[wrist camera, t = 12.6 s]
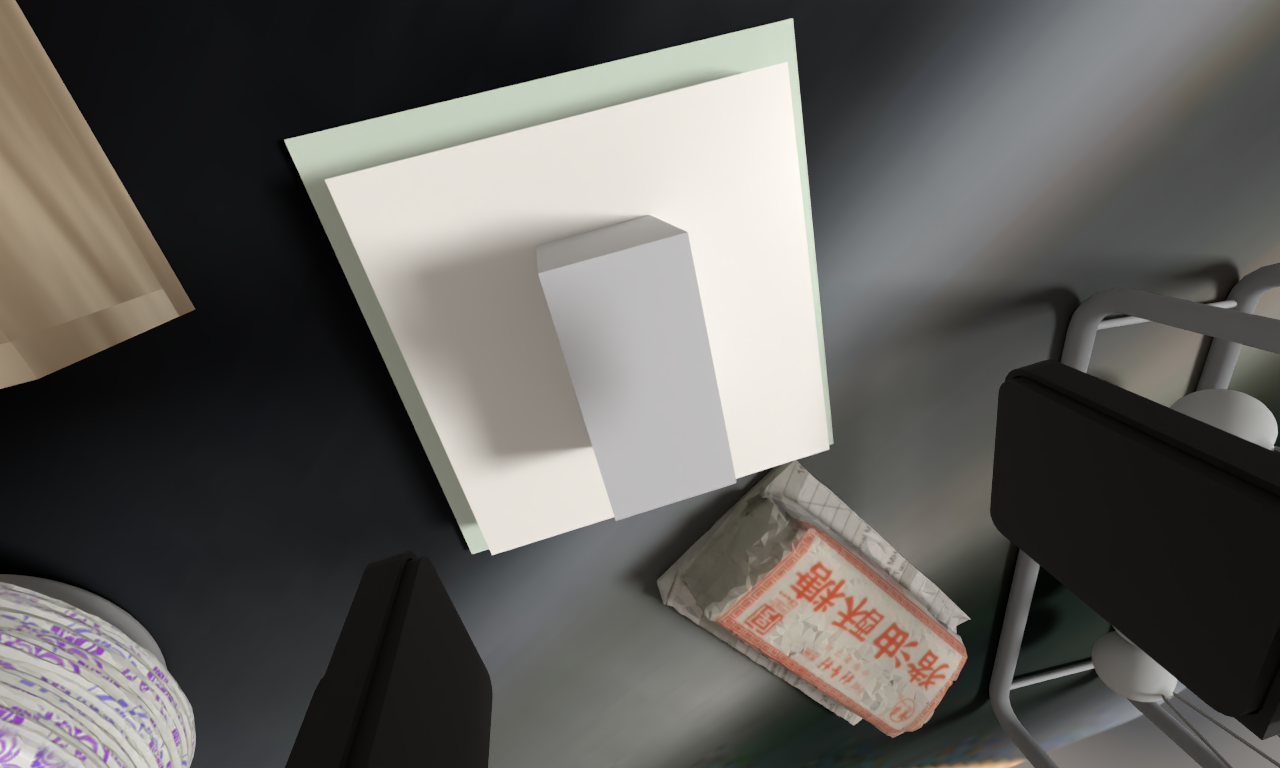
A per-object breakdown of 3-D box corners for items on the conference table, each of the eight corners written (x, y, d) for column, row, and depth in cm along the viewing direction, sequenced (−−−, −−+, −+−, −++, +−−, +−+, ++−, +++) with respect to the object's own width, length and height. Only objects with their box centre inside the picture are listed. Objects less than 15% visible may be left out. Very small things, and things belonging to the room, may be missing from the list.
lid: (758, 72, 20) (876, 27, 13) (803, 424, 26) (899, 517, 19) (349, 177, 19) (247, 187, 12) (495, 519, 25) (482, 654, 18)
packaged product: (668, 652, 25) (831, 499, 23) (647, 578, 29) (783, 445, 28) (885, 780, 32) (1021, 669, 30) (841, 704, 36) (958, 604, 34)
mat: (788, 20, 20) (792, 18, 20) (829, 439, 27) (833, 443, 27) (288, 140, 19) (284, 139, 18) (472, 549, 26) (471, 554, 25)
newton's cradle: (1072, 280, 27) (1918, 466, 10) (1252, 253, 28) (2248, 380, 12) (980, 707, 38) (1310, 1108, 22) (1110, 673, 40) (1511, 1027, 23)
